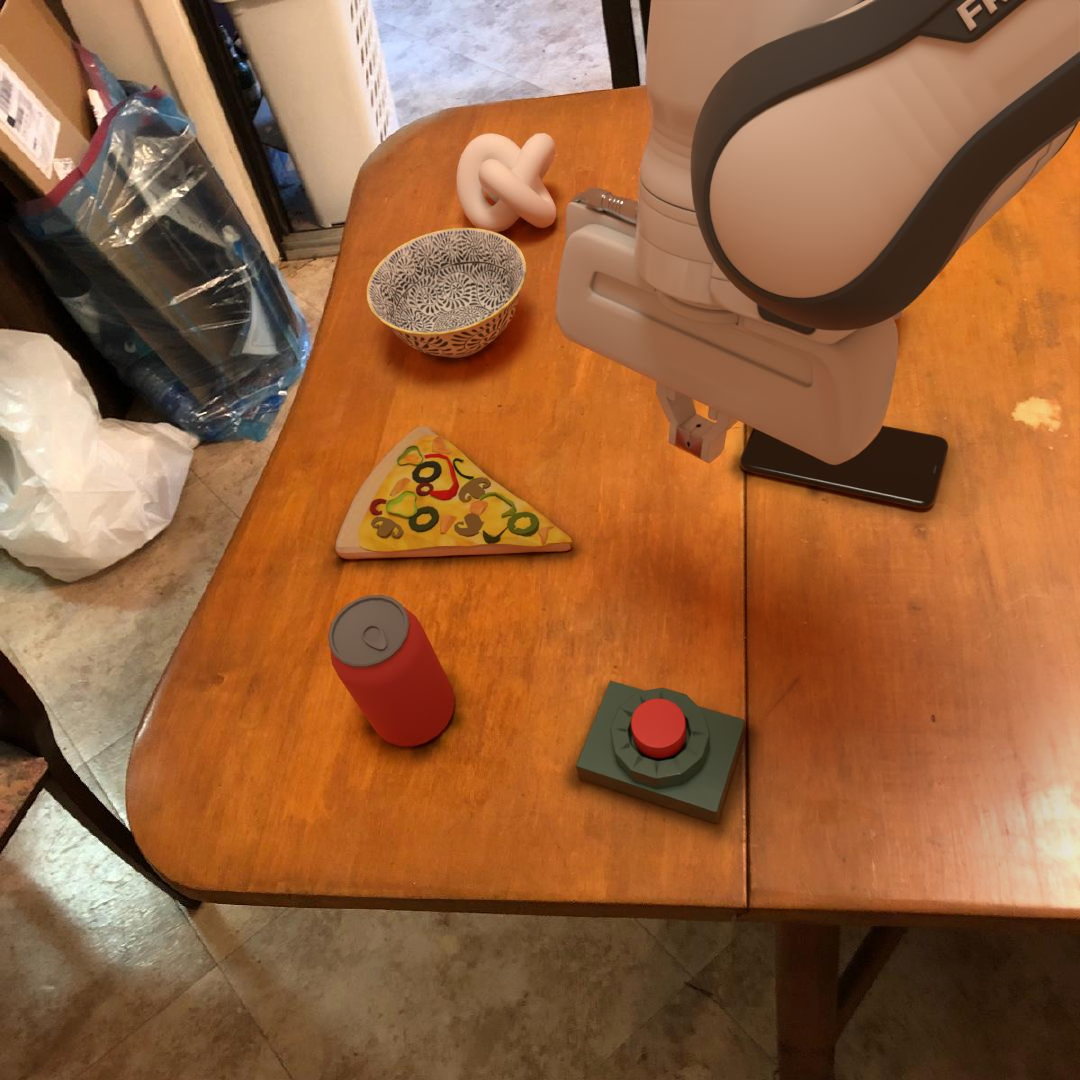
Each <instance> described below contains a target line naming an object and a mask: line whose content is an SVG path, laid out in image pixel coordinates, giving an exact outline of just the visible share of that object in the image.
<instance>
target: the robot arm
mask: <svg viewBox="0 0 1080 1080" xmlns="http://www.w3.org/2000/svg"><path fill="white" fill-rule="evenodd" d="M646 42H647V43H646V54H645V55H646V56H645V71H644V73H645V74H644V75H645V76H644V82H645V89H646V95H647V99H648V104H649V109H650V129H649V134H648V139H647V142H646V145H645V147H644V150H643V153H642V156H641V159H640V165H639V171H638V172H639V174H638V192H637V194H638V195H637V200H635V199H631V198H628V197H627V198H626V197H622V196H617V195H615V194H613V193H612V192H610V191H609V190H607V189H604V188H602V187H595V186H591V187H588V188H587V190H586V191H581V192H579V193H576V194H575V195H574V196H573V197H572V198H571V200H570V202H568V204H567V206H566V209H565V241H566V242H565V245H564V247H563V251H562V255H561V258H560V259H561V260H560V266H559V273H558V279H557V280H558V281H557V289H556V299H555V320H556V322H557V325H558V327H559V330H560V331H561V333H562V335H563V337H564V338H565V339H566V340H567V341H570V342H572V343H574V344H576V345H578V346H580V347H583V348H585V349H587V350H589V351H591V352H592V353H593V352H594V353H595V354H597V355H600V356H602V357H604V358H605V359H607V360H610V361H612V362H615V363H617V364H618V365H621V366H622V367H625V368H627V369H629V370H631V371H633V372H635V373H637V374H640V375H642V376H644V377H646V378H648V379H650V380H651V381H654V382H656V389H655V394H656V397H657V399H658V401H659V403H660V406H661V408H662V410H663V413H664V415H665V417H666V419H667V422H669V432H668V440H667V441H668V444H669V445H672V446H674V447H675V448H677V449H679V450H681V451H683V452H685V453H688V454H690V455H692V456H693V457H695V458H697V459H699V460H701V461H703V462H705V463H706V464H711V463H712V462H713V461H715V460H716V459H717V458H718V457H720V455H721V454H722V453H723V451H724V449H725V445H726V439H727V433H728V431H729V430H730V429H731V428H732V427H733V426H735V425H736V424H737V423H738V422H741V424H742V423H743V424H745V425H746V426H749V427H750V428H755V429H757V430H759V431H761V432H764V433H766V434H768V435H770V436H772V437H774V438H776V439H778V440H780V441H782V442H785V443H787V444H789V445H791V446H793V447H795V448H797V449H799V450H801V451H803V452H806V453H808V454H810V455H812V456H814V457H816V458H818V459H820V460H822V461H824V462H826V463H829V464H832V465H837V464H840V463H843V462H845V461H847V460H849V459H851V458H853V457H855V456H856V455H858V454H859V453H860V452H861V451H862V450H864V449H865V448H866V447H867V446H868V445H869V444H870V443H871V442H872V440H873V439H874V438H875V437H876V436H877V434H878V433H879V431H880V430H881V428H882V426H884V423H885V419H886V416H887V413H888V409H889V406H890V405H889V404H890V401H891V397H892V392H893V387H894V380H895V376H896V370H897V363H898V362H897V361H898V354H899V333H898V332H899V331H898V328H897V324H896V320H894V319H893V317H892V316H894V315H896V314H897V313H899V312H901V311H902V310H903V309H904V310H905V309H906V308H907V307H909V306H910V305H911V304H912V303H913V302H914V301H916V300H917V299H918V298H919V297H920V295H921V294H923V292H924V291H925V290H927V288H928V287H929V286H930V285H931V283H932V282H933V281H934V280H935V279H936V278H937V277H938V276H939V275H940V274H941V272H942V271H943V270H944V269H945V268H946V267H947V265H948V264H949V263H950V262H951V260H952V259H953V258H954V257H955V255H956V253H957V251H959V250H960V249H961V248H962V247H963V246H964V245H965V244H966V243H967V242H968V241H969V240H970V239H971V238H972V237H973V236H974V235H975V234H977V233H978V231H980V230H981V229H982V227H984V226H985V225H986V224H987V223H988V222H989V221H990V220H991V219H992V218H993V217H994V216H995V215H996V214H997V213H998V212H999V211H1001V210H1002V209H1003V207H1004V206H1005V205H1007V204H1008V203H1009V201H1011V200H1012V199H1013V198H1014V197H1015V196H1016V195H1017V194H1018V193H1019V192H1020V191H1021V190H1022V189H1024V187H1026V186H1027V185H1028V184H1029V183H1030V182H1031V181H1032V180H1033V179H1034V178H1035V177H1036V176H1037V175H1038V174H1039V172H1041V171H1042V169H1043V168H1044V167H1045V166H1046V165H1047V164H1048V163H1049V162H1050V161H1051V160H1052V159H1053V158H1054V157H1055V156H1056V155H1057V154H1058V153H1059V152H1060V151H1061V150H1062V148H1063V147H1064V146H1065V145H1066V143H1067V142H1068V141H1069V139H1070V137H1071V136H1072V134H1073V133H1074V131H1075V130H1076V128H1077V126H1078V124H1079V122H1080V0H650V8H649V17H648V28H647V41H646ZM904 310H903V311H904ZM694 401H697V402H699V403H700V404H702V405H705V406H707V407H708V412H707V418H706V417H704V416H702V415H700V414H698V413H697V410H696V407H695V403H694Z"/></svg>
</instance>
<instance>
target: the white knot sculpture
mask: <svg viewBox="0 0 1080 1080" xmlns="http://www.w3.org/2000/svg"><path fill="white" fill-rule="evenodd" d="M555 156H556V142H555V141H554V139H553V138H552V136H551V135H549V134H547V133H546V132H539V133H535V134H534V135H532V136H531V137H530V138H528V139H527V141H525V143H524V144H523V146H522V147H521V148H520V147H519V145H518V144H517V143H515V142H514V141H513V140H512V139H510V138H508V137H506V136H504V135H502V134H499V133H498V134H497V133H492V132H491V133H483V134H480V135H478V136H476V137H475V138H473V139H472V140H471V141H470V142H469V143H468V144H467V145H466V147H465V148H464V150H463V151H462V152H461V155H460V159H459V161H458V164H457V170H456V192H457V196H458V200H459V201H458V202H459V204H460V207H461V209H462V211H463V213H464V215H465V217H466V218H467V219H468V221H469V222H470V223H471V224H472V225H473V226H474V228H477V229H484V230H488V231H492V232H495V233H500V232H505V231H506V230H509V228H511V227H513V225H514V224H515V223H516V222H517V220H518V219H519V218H521V219H522V220H524V221H526V223H529V224H531V225H532V226H534V227H535V228H537V229H538V228H539V229H546V228H549V227H550V226H551V225H552V224H554V223H555V220H556V218H557V206H556V204H555V202H554V199H553V197H552V196H551V194H550V192H549V190H548V189H547V188H546V186H545V184H544V182H543V181H542V180H543V179H544V178H545V176H546V174H547V173H548V171H549V169H550V167H551V165H552V164H553V161H554V159H555ZM484 192H485V193H486V195H487V196H488V198H490V199H491V200H492V201H493V202H494V203H495V204H493V205H491V204H490V203H489V202H488V200H487V198H486V196H485V193H484Z"/></svg>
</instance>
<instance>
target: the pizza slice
mask: <svg viewBox="0 0 1080 1080" xmlns="http://www.w3.org/2000/svg"><path fill="white" fill-rule="evenodd" d="M571 545H573V541H572V538H571V537H570V536H569V535H568V534H566V533H565V532H564V531H563V530H561V529H560V528H559V527H557V525H555V524H554V523H552V522H551V520H549V519H548V518H547V517H546V516H545V515H543V514H542V513H541V512H540V511H538V510H537V509H535V508H534V507H532V505H530V504H529V503H528V502H527V501H524V500H523V499H521V498H519V497H518V496H516V495H515V494H513V493H511V492H510V491H509V490H508V489H507V488H505V487H504V486H502V485H501V484H499V483H498V482H497V481H495V480H494V479H492V478H491V477H490V476H489V475H487V474H486V473H484V472H483V470H481V469H480V468H479V467H478V466H477V465H476V463H474V462H473V461H472V460H470V459H469V457H467V456H466V455H465V453H463V452H462V451H461V449H459V448H457V446H455V445H454V444H453V443H452V442H450V441H449V440H447V439H445V437H444V436H443V435H439V434H437V433H435V431H434V430H433V429H431V428H430V427H429V426H426V425H420V426H417V427H415V428H414V429H413V430H412V431H409V433H407V435H406V436H404V437H403V438H402V439H401V440H400V441H399V442H398V443H396V444H395V445H394V446H393V448H392V449H390V451H388V452H387V454H385V455H384V457H382V459H381V460H380V461H379V463H377V465H376V466H375V467H374V468H373V469H372V471H371V472H370V474H368V476H367V478H366V479H365V480H364V481H363V483H362V484H361V486H360V487H359V489H358V491H357V493H356V494H355V496H354V497H353V499H352V502H351V504H350V505H349V509H348V511H347V513H346V515H345V518H344V520H343V522H342V524H341V526H340V529H339V532H338V535H337V537H336V541H335V552H336V554H337V555H338V556H339V557H340V558H342V559H345V560H359V559H388V558H389V559H390V558H393V559H394V558H422V557H424V558H425V557H427V558H429V557H447V556H469V555H470V556H472V555H473V556H474V555H478V556H479V555H481V556H482V555H503V554H521V553H540V552H541V553H545V552H550V553H551V552H557V553H559V552H567V551H570V550H571V549H572V546H571Z"/></svg>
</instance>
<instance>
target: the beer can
mask: <svg viewBox="0 0 1080 1080" xmlns="http://www.w3.org/2000/svg"><path fill="white" fill-rule="evenodd" d="M327 639H328V647H329V650H330V651H329V652H330V660H331V665H332V667H333V669H334V671H335V672H336V675H337V676H338V677H339V679H340V681H341V682H342V684H343V685H344V687H345V688H346V690H347V691H348V693H349V694H350V696H351V697H352V699H353V700H354V702H355V703H356V704H357V706H358V708H359V709H360V710H361V712H362V714H363V715H364V716H365V718H366V720H367V721H368V723H369V724H370V725H371V727H372V728H373V730H374V731H375V733H376V734H377V736H379V737H380V738H382V740H384V741H385V742H386V743H389V744H391V745H395V746H398V747H415V746H419V745H422V744H425V743H428V742H429V741H431V740H433V739H435V738H436V737H438V736H439V734H440V733H442V731H443V730H444V729H445V728H446V727H447V726H448V724H449V722H450V720H451V719H452V716H453V714H454V710H455V704H456V703H455V702H456V699H455V694H454V689H453V687H452V684H451V682H450V680H449V678H448V676H447V675H446V672H445V670H444V668H443V666H442V664H441V662H440V659H439V657H438V656H437V654H436V652H435V650H434V648H433V645H432V644H431V641H430V639H429V636H428V635H427V633H426V631H425V629H424V627H423V625H422V624H421V622H420V621H419V619H418V617H417V616H416V615H415V614H414V613H413V612H411V611H410V610H409V609H408V608H406V607H405V606H404V605H403V604H402V603H400V602H399V601H398V600H397V599H396V598H394V597H391V596H388V595H385V594H369V595H366V596H362V597H358V598H356V599H355V600H353V601H351V602H349V603H347V604H346V605H345V606H344V607H343V608H342V609H341V610H340V611H338V612H337V613H336V615H335V617H334V618H333V620H332V621H331V623H330V626H329V630H328V633H327Z"/></svg>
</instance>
